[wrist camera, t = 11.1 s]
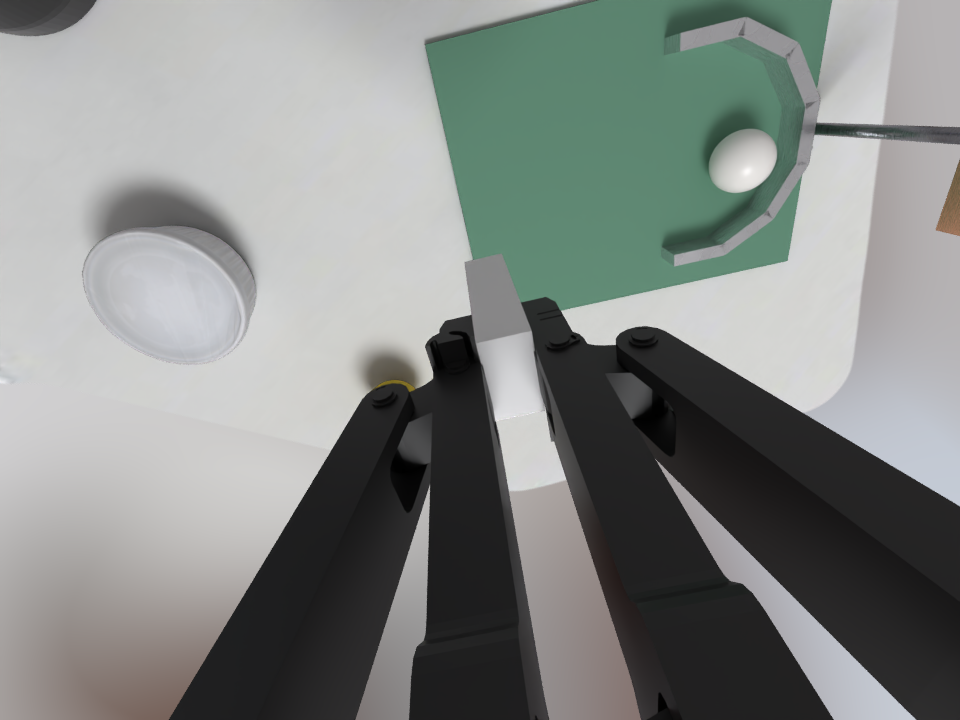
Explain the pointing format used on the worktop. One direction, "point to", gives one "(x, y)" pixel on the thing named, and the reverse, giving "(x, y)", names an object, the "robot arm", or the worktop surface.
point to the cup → (789, 135)
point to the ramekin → (171, 292)
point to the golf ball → (742, 160)
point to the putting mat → (610, 141)
